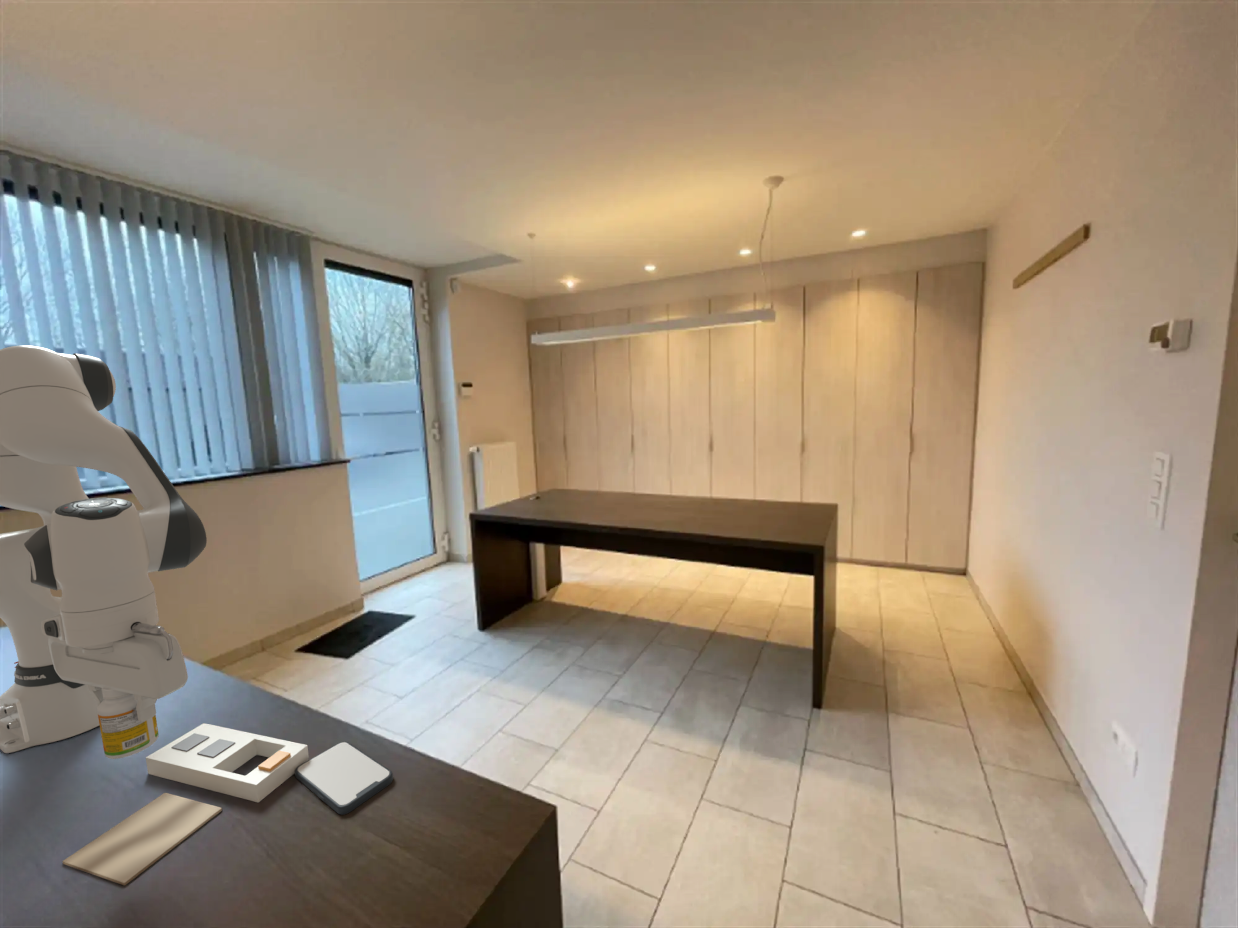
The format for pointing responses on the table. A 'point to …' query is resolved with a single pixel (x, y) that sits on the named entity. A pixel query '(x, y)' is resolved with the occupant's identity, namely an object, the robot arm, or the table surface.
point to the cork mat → (142, 838)
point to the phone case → (343, 777)
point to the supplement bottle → (123, 725)
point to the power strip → (227, 761)
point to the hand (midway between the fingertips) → (127, 714)
